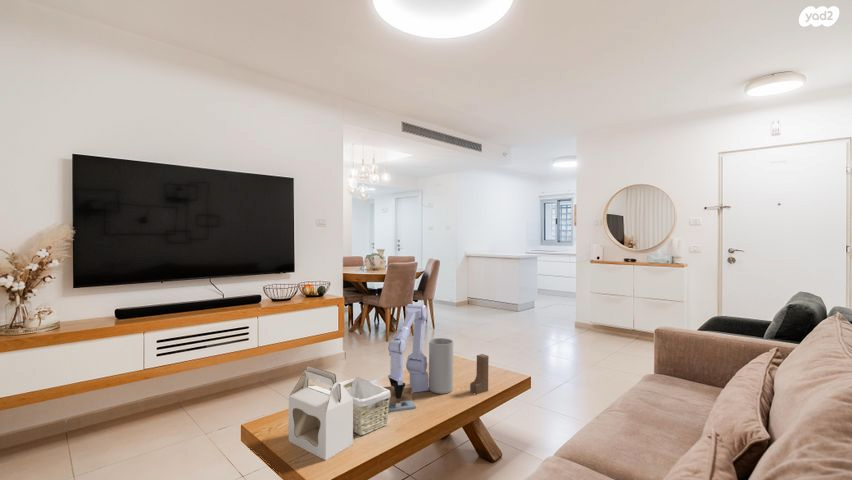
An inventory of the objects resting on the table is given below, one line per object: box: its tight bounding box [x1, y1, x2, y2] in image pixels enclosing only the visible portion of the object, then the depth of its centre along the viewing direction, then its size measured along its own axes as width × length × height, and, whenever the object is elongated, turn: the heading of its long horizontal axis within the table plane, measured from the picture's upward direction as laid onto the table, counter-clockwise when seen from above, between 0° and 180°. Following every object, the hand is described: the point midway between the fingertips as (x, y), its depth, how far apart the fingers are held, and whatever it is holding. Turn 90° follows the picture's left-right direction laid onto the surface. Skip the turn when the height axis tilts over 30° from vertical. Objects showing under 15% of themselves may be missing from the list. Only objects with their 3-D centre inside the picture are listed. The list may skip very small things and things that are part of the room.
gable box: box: [288, 365, 354, 461], centre depth 148 cm, size 22×13×28 cm, turn 54°
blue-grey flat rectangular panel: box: [385, 399, 417, 413], centre depth 180 cm, size 16×9×1 cm, turn 109°
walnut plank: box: [382, 383, 413, 403], centre depth 180 cm, size 14×4×6 cm, turn 108°
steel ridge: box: [393, 402, 401, 408], centre depth 180 cm, size 2×7×2 cm, turn 19°
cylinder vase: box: [428, 337, 454, 395], centre depth 201 cm, size 12×12×25 cm
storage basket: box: [328, 377, 391, 436], centre depth 165 cm, size 24×16×15 cm
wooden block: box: [469, 353, 489, 395], centre depth 199 cm, size 9×4×18 cm, turn 128°
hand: (396, 395), depth 180 cm, fingers open, 7 cm apart
